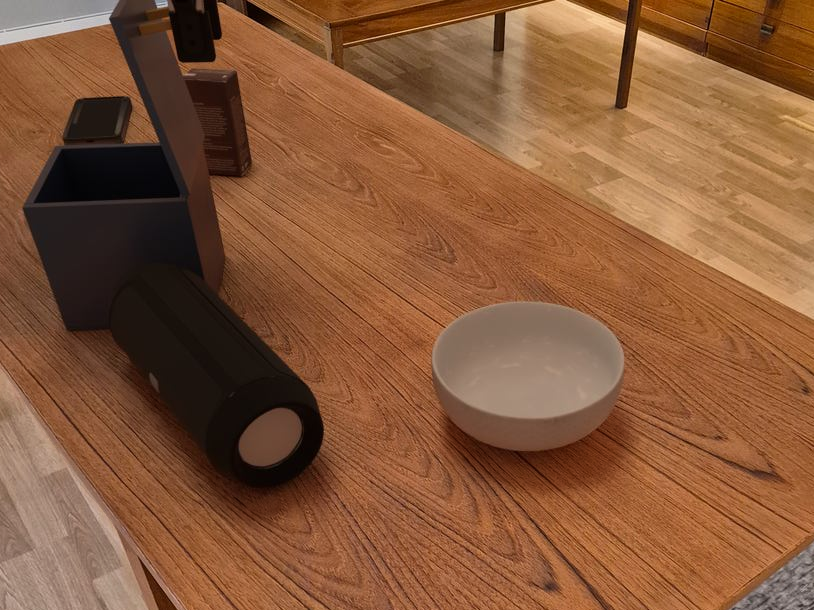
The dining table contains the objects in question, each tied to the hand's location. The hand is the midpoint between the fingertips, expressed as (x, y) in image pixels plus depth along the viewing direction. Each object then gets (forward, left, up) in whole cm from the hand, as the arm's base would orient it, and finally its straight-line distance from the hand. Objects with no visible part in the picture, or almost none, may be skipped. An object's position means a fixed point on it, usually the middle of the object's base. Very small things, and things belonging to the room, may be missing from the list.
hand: (201, 47), depth 79 cm
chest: (-10, 0, -24) cm, 26 cm away
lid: (-4, 0, -3) cm, 5 cm away
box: (-4, +30, -25) cm, 39 cm away
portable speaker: (-1, -22, -25) cm, 33 cm away
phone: (-23, +46, -24) cm, 57 cm away
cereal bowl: (+27, -25, -25) cm, 44 cm away
